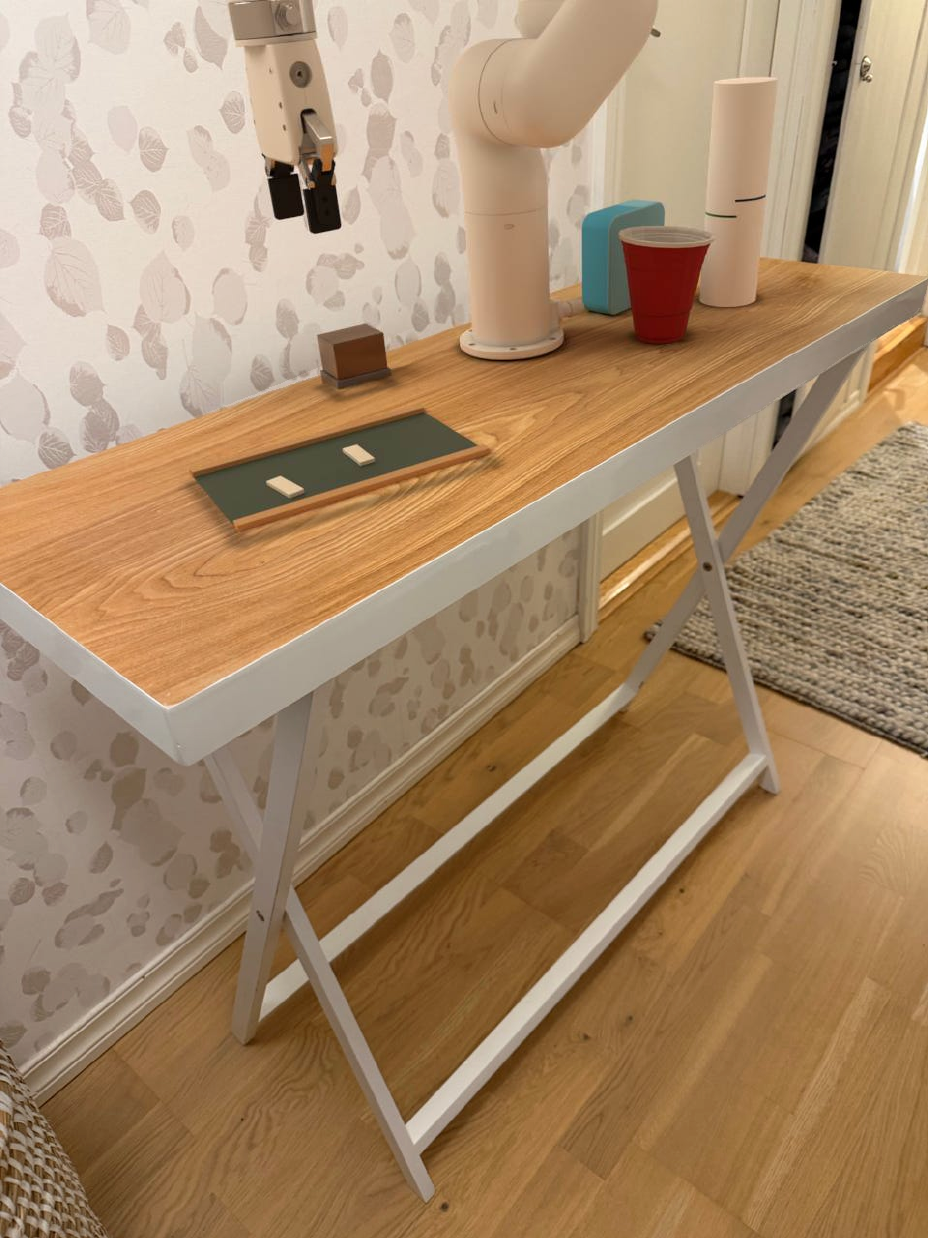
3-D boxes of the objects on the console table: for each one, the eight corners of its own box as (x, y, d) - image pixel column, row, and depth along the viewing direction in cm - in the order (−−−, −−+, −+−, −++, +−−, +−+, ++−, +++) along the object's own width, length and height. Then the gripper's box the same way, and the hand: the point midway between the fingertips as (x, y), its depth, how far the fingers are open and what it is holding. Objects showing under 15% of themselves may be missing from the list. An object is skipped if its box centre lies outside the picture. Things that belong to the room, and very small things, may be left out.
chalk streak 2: (357, 447, 87) (356, 443, 87) (375, 461, 84) (375, 457, 84) (342, 452, 87) (342, 448, 86) (360, 466, 84) (360, 462, 84)
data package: (634, 290, 128) (637, 196, 122) (662, 294, 126) (666, 199, 119) (580, 312, 121) (580, 215, 115) (608, 318, 119) (610, 218, 112)
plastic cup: (726, 340, 108) (735, 231, 102) (644, 356, 106) (648, 246, 99) (677, 317, 117) (682, 215, 110) (600, 332, 114) (601, 228, 108)
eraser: (322, 387, 105) (313, 334, 102) (373, 373, 108) (367, 322, 104) (340, 399, 102) (331, 345, 98) (392, 385, 104) (386, 332, 101)
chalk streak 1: (281, 479, 83) (280, 475, 82) (305, 492, 80) (304, 488, 80) (266, 485, 82) (265, 480, 82) (290, 498, 79) (289, 494, 79)
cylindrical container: (761, 304, 119) (785, 80, 105) (705, 308, 119) (721, 85, 105) (748, 289, 125) (769, 75, 111) (694, 293, 125) (708, 80, 111)
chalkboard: (420, 419, 95) (418, 403, 94) (491, 464, 85) (490, 447, 84) (193, 484, 86) (188, 467, 85) (241, 544, 76) (236, 525, 75)
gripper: (350, 17, 79) (377, 229, 89) (279, 21, 92) (309, 206, 102) (267, 26, 76) (304, 244, 86) (206, 29, 89) (244, 219, 99)
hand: (307, 223), depth 94 cm, fingers open, 9 cm apart
